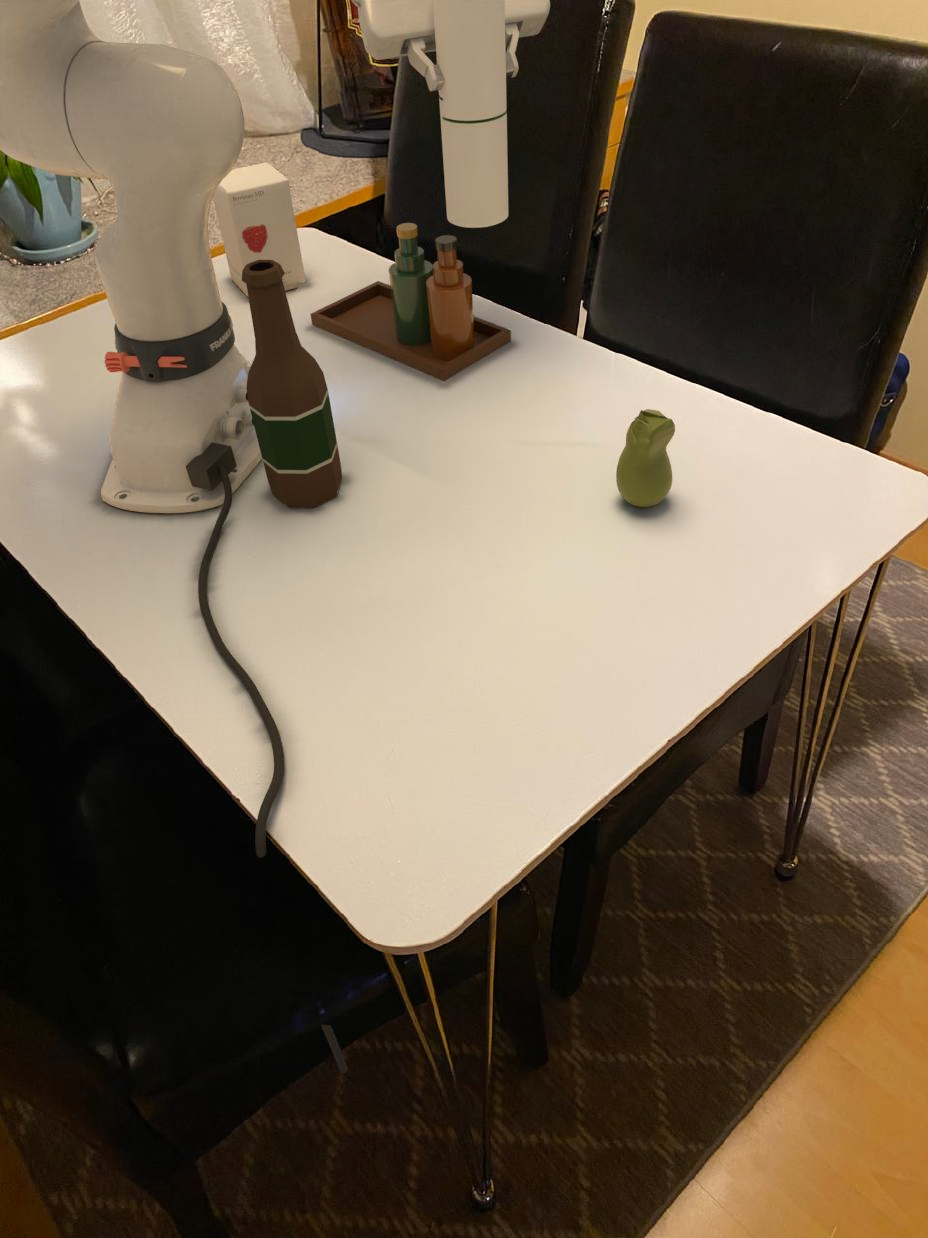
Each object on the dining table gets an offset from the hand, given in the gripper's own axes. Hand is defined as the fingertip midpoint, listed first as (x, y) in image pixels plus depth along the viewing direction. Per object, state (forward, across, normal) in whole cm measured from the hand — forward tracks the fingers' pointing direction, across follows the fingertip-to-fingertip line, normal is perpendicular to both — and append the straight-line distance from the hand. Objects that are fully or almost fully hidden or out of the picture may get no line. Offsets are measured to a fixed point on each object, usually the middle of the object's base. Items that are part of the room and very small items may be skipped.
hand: (475, 80), depth 94 cm
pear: (+48, +2, -4) cm, 48 cm away
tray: (+16, -8, +27) cm, 32 cm away
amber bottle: (+21, -4, +22) cm, 30 cm away
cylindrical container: (+10, 0, +10) cm, 14 cm away
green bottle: (+17, -7, +26) cm, 31 cm away
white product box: (-2, -21, +45) cm, 50 cm away
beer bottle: (+35, -29, +8) cm, 46 cm away
